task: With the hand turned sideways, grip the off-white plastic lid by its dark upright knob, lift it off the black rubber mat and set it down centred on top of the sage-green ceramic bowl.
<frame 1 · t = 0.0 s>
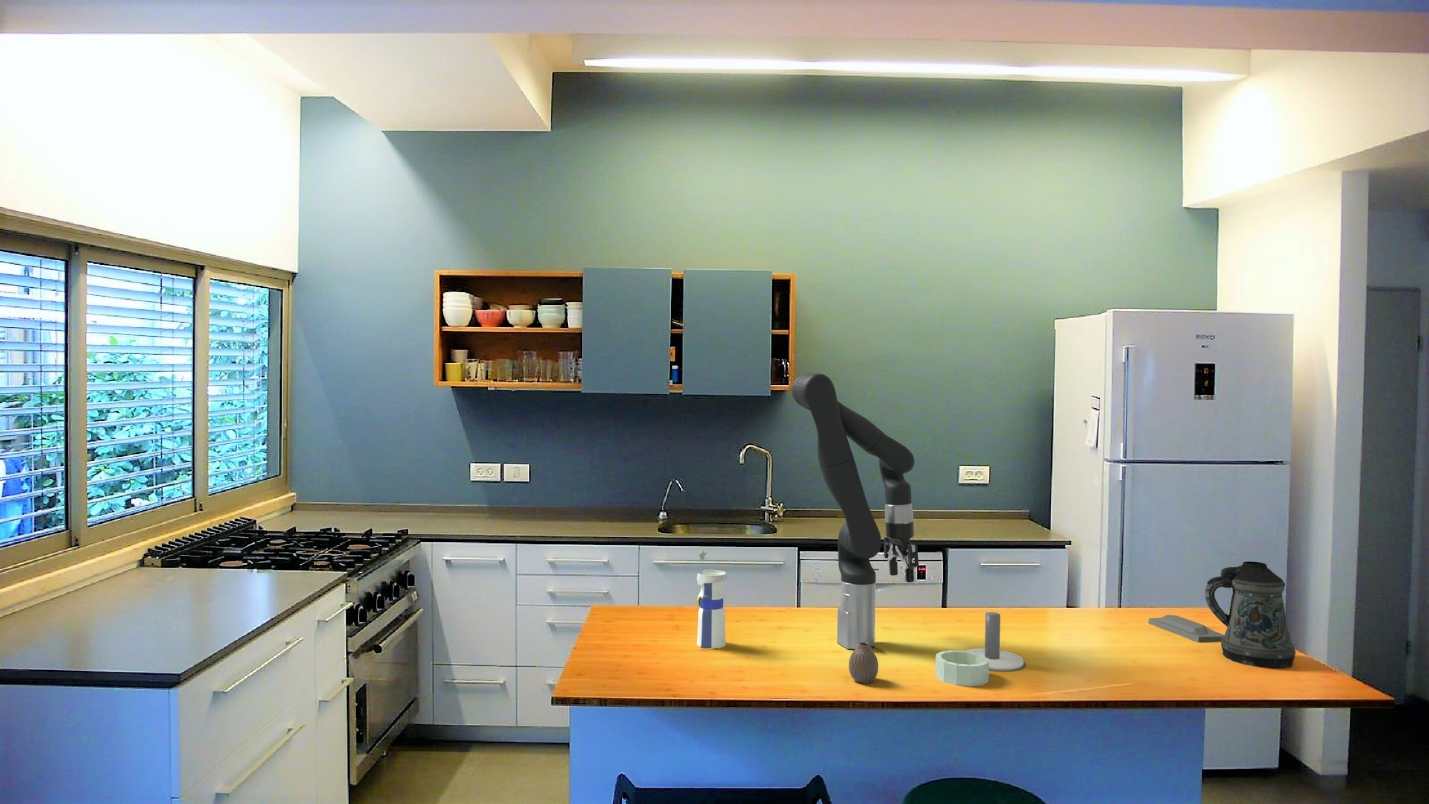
hand: (901, 578, 237), 17 cm above the countertop, tool pointing down, fingers open, 8 cm apart
water bottle: (710, 645, 232), on the countertop
bowl: (961, 678, 207), on the countertop
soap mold: (1186, 634, 251), on the countertop
mat: (992, 662, 219), on the countertop
beer stein: (1251, 659, 225), on the countertop
lid: (992, 661, 219), resting on mat
vase: (863, 681, 205), on the countertop
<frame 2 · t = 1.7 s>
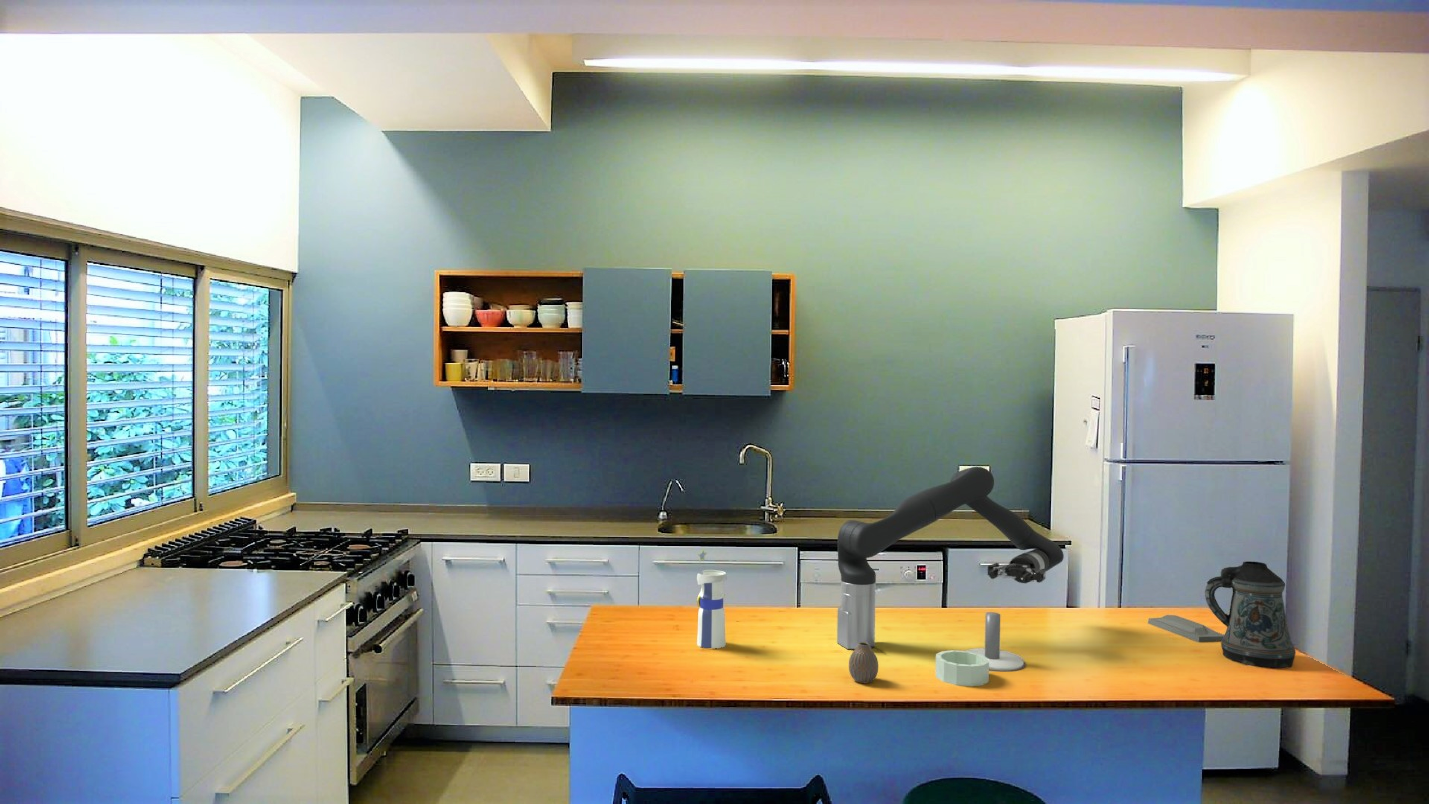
hand: (1007, 577, 228), 20 cm above the countertop, tool horizontal, fingers open, 8 cm apart
nothing on the countertop moved.
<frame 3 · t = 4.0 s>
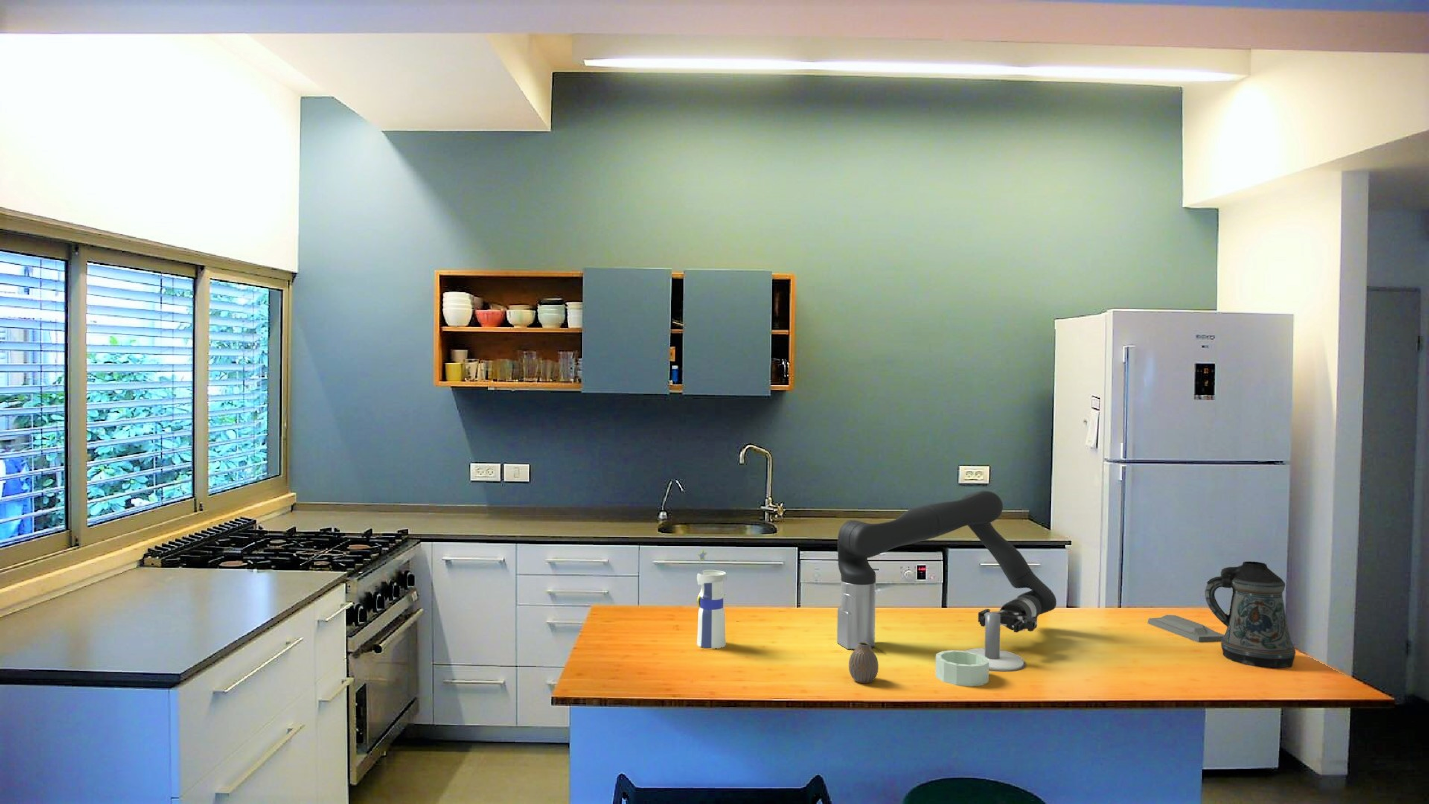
hand: (998, 625, 223), 8 cm above the countertop, tool horizontal, fingers open, 8 cm apart
nothing on the countertop moved.
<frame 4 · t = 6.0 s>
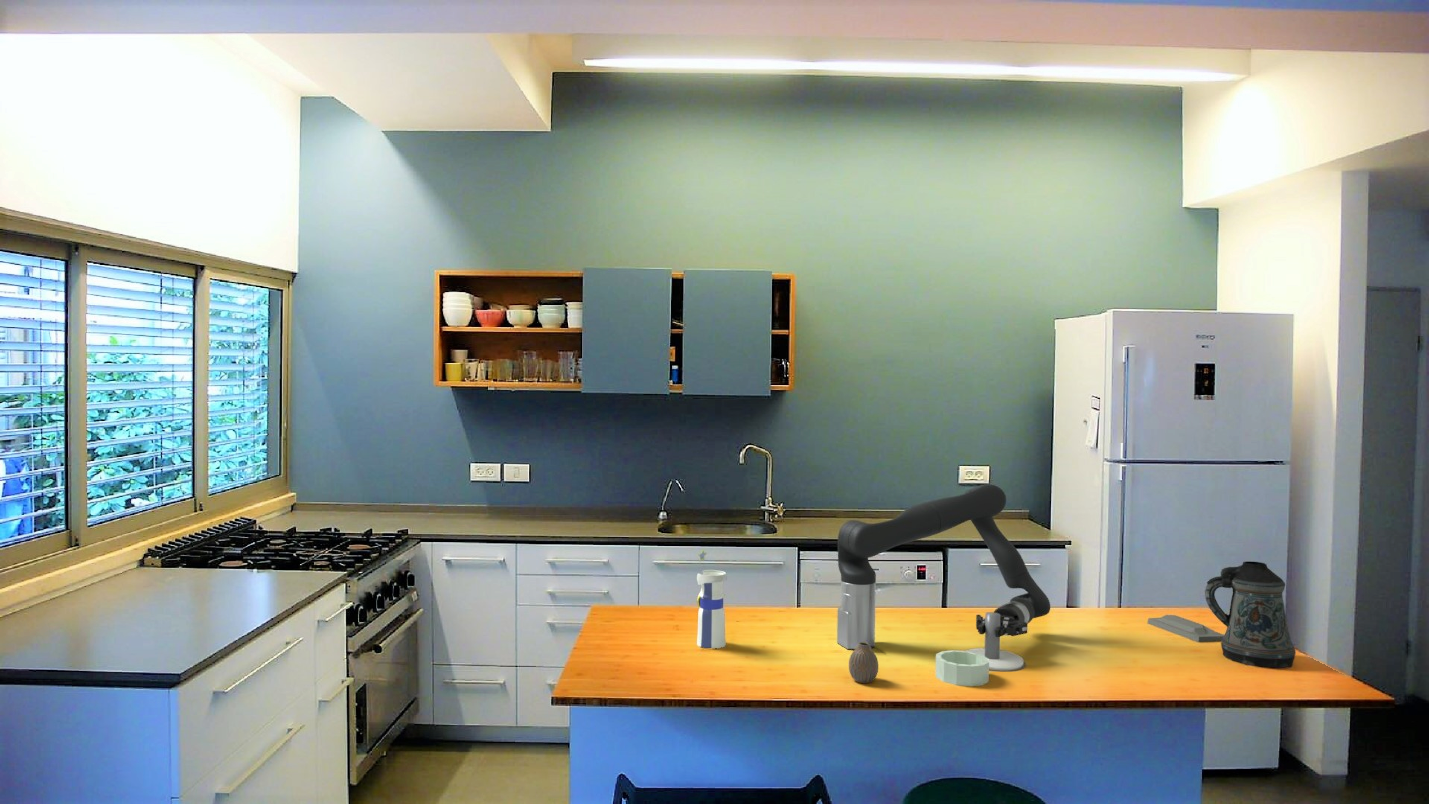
hand: (988, 631, 217), 8 cm above the countertop, tool horizontal, fingers closed on lid, 3 cm apart
lid: (991, 661, 219), resting on mat, touching gripper
everything else where it was.
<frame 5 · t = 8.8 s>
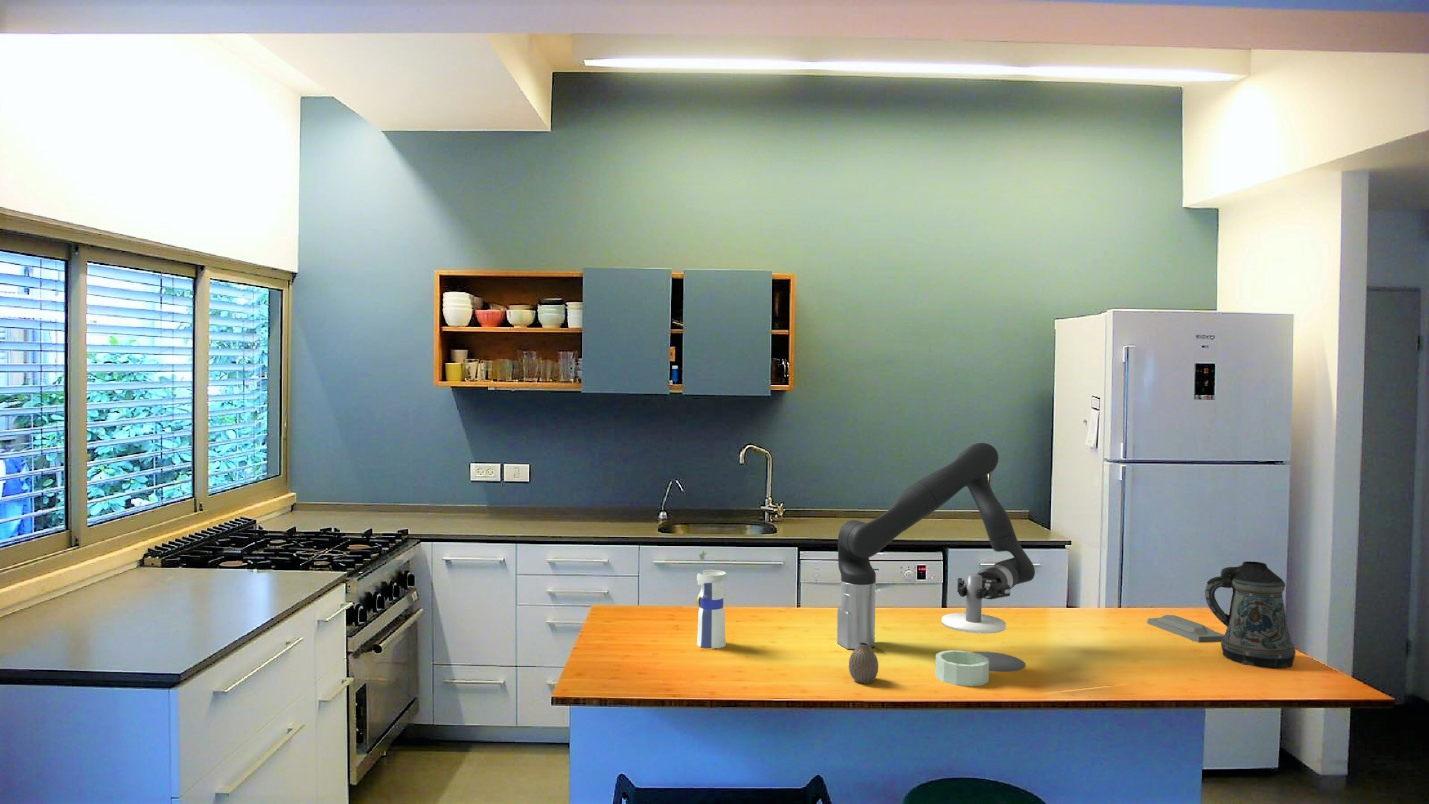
hand: (970, 593, 209), 20 cm above the countertop, tool horizontal, fingers closed on lid, 3 cm apart
lid: (973, 624, 211), point 12 cm above the countertop, touching gripper
everything else where it was.
when the fingers open (14 cm above the countertop, at t = 11.5 s): lid drops 1 cm, resting on bowl.
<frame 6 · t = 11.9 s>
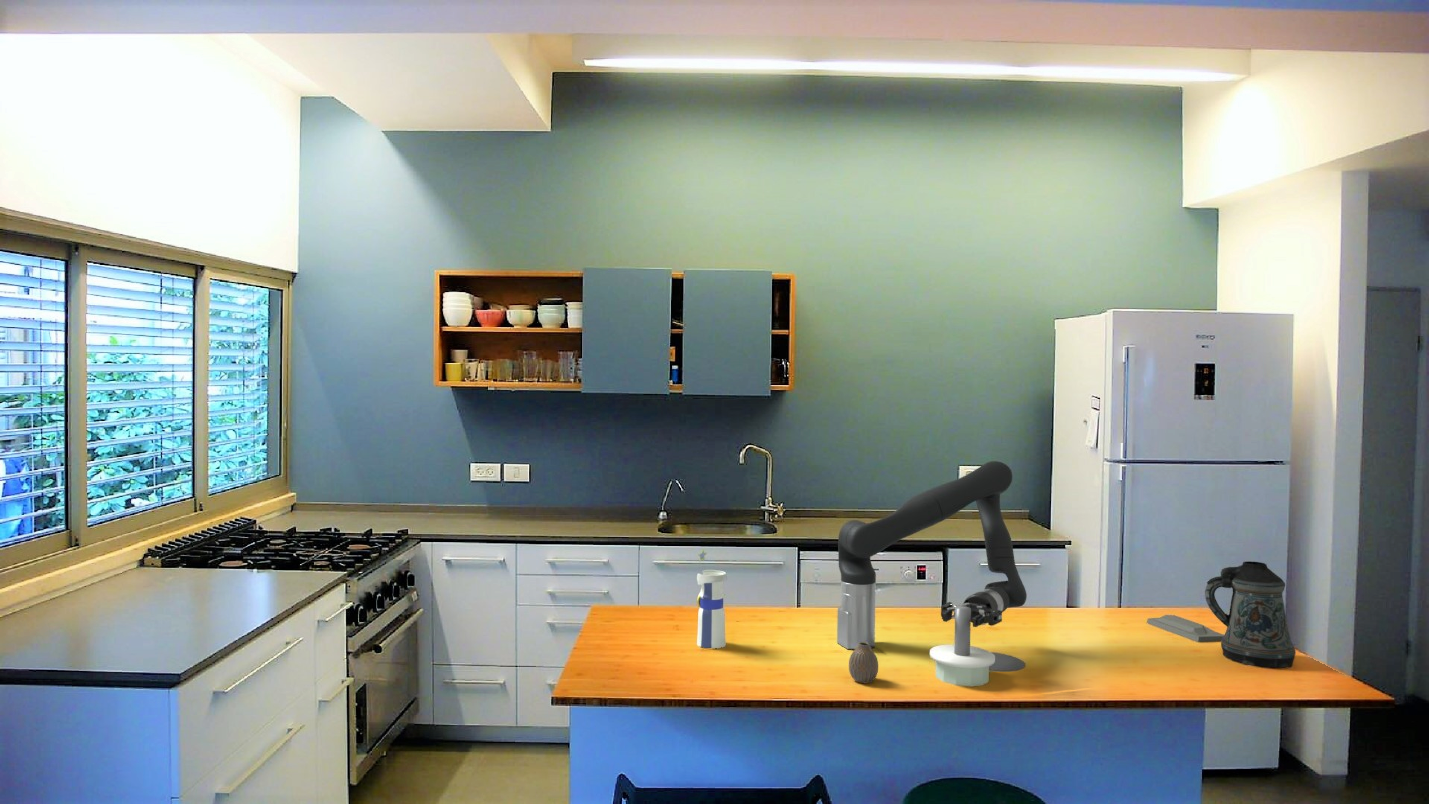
hand: (959, 619, 205), 15 cm above the countertop, tool horizontal, fingers open, 6 cm apart
lid: (962, 658, 207), point 5 cm above the countertop, touching bowl
everything else where it was.
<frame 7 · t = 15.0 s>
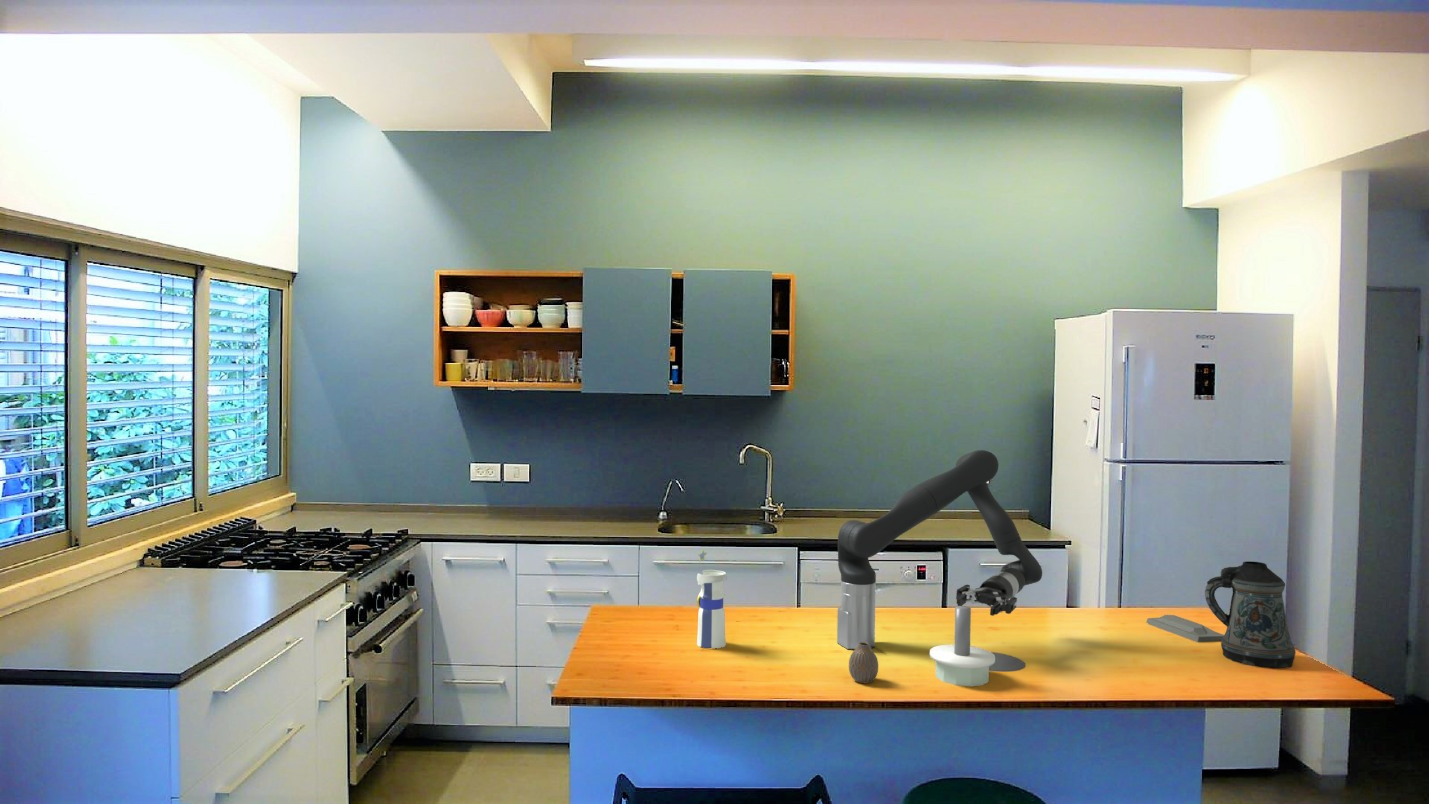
hand: (975, 607, 217), 15 cm above the countertop, tool horizontal, fingers open, 8 cm apart
nothing on the countertop moved.
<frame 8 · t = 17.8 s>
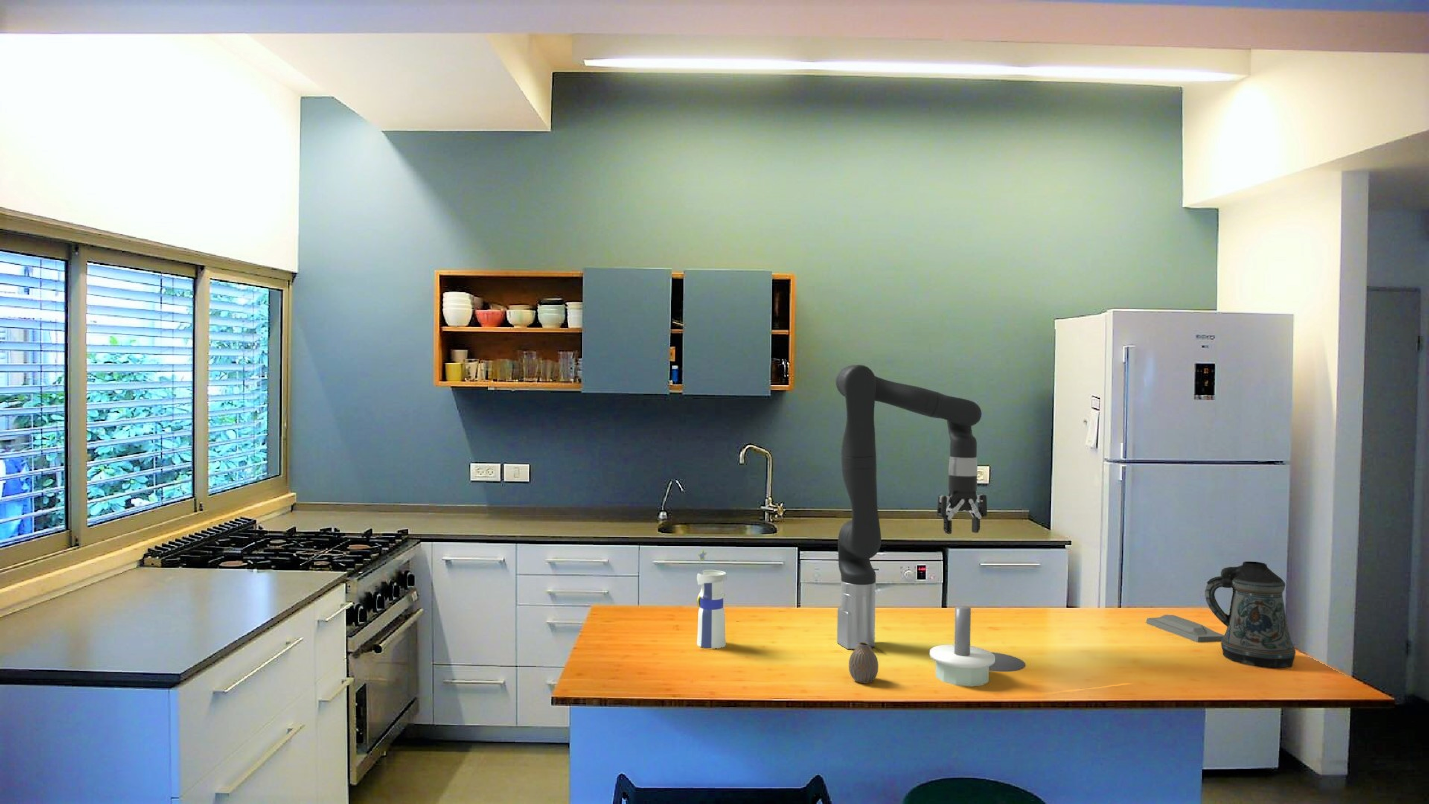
hand: (961, 533, 236), 30 cm above the countertop, tool pointing down, fingers open, 8 cm apart
nothing on the countertop moved.
at the end: lid 0.0 cm off-centre on the bowl, point 5.0 cm above the bowl's base; lid tilted 0°; the gripper is holding nothing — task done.
